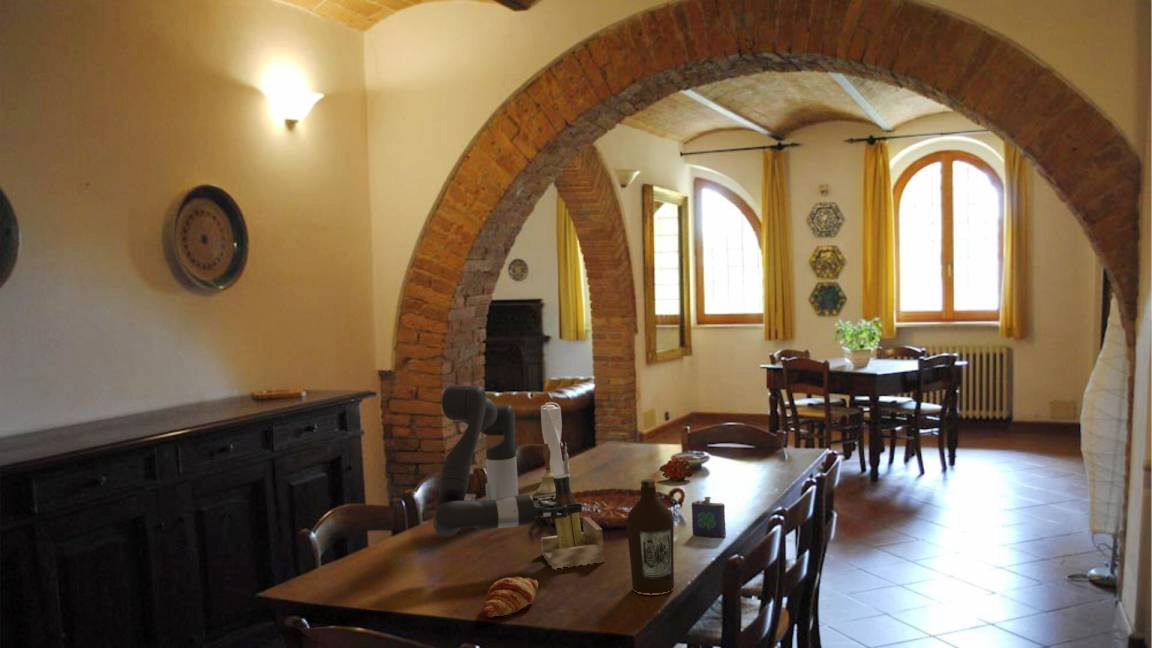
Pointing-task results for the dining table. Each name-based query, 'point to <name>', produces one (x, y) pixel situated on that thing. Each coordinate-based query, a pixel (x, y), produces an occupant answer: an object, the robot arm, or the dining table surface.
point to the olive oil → (651, 542)
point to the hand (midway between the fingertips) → (577, 503)
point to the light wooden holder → (575, 548)
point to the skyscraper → (554, 437)
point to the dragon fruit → (677, 469)
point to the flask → (708, 519)
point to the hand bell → (547, 474)
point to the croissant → (509, 596)
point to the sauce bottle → (568, 525)
